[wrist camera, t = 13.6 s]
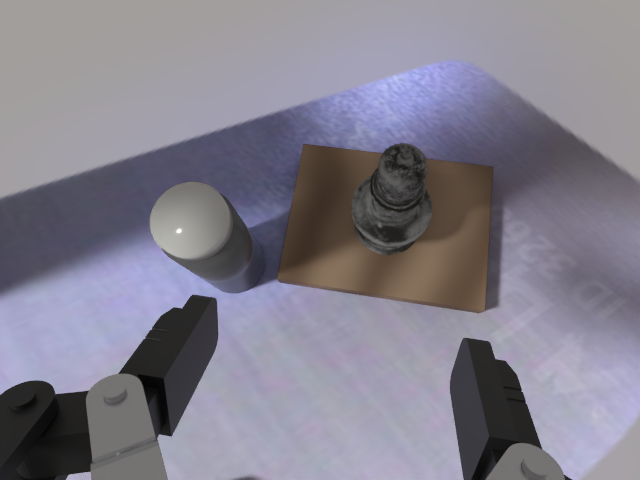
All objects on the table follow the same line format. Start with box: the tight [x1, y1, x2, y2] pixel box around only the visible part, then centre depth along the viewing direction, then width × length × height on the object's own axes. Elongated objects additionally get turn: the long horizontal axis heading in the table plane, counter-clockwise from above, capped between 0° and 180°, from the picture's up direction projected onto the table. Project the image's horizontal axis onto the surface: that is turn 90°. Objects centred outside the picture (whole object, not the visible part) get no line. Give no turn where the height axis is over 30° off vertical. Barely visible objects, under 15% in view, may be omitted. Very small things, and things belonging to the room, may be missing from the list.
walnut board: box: [277, 144, 493, 313], centre depth 36 cm, size 16×12×2 cm
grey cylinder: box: [150, 182, 265, 293], centre depth 31 cm, size 5×5×11 cm
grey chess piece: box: [351, 143, 432, 255], centre depth 29 cm, size 6×6×12 cm
